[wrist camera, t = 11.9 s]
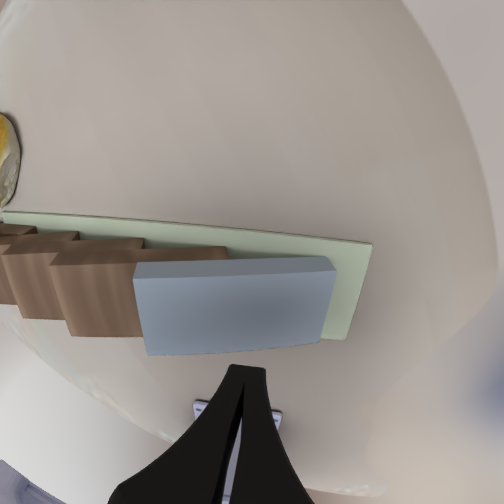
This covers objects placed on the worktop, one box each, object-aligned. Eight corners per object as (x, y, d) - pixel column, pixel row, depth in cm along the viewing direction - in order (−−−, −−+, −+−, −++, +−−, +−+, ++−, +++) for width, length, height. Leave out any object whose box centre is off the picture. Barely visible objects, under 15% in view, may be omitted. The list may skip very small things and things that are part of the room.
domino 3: (140, 249, 15) (1, 255, 13) (150, 320, 18) (22, 318, 15) (144, 237, 17) (11, 244, 15) (152, 305, 19) (30, 305, 17)
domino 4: (229, 259, 15) (48, 265, 13) (227, 332, 17) (71, 336, 15) (225, 246, 16) (58, 252, 14) (224, 316, 19) (77, 320, 16)
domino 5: (337, 270, 15) (132, 278, 13) (318, 342, 17) (147, 355, 15) (324, 256, 16) (137, 262, 14) (309, 325, 18) (149, 336, 16)
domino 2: (71, 240, 16) (-31, 247, 13) (86, 306, 18) (-12, 303, 16) (78, 231, 17) (-21, 238, 15) (91, 293, 19) (-5, 292, 17)
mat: (344, 336, 19) (345, 340, 18) (21, 282, 21) (19, 283, 20) (371, 243, 16) (372, 245, 15) (4, 211, 18) (1, 212, 17)
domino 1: (22, 234, 16) (-32, 227, 17) (38, 292, 18) (-19, 274, 19) (36, 225, 17) (-21, 220, 18) (50, 282, 20) (-9, 266, 20)
